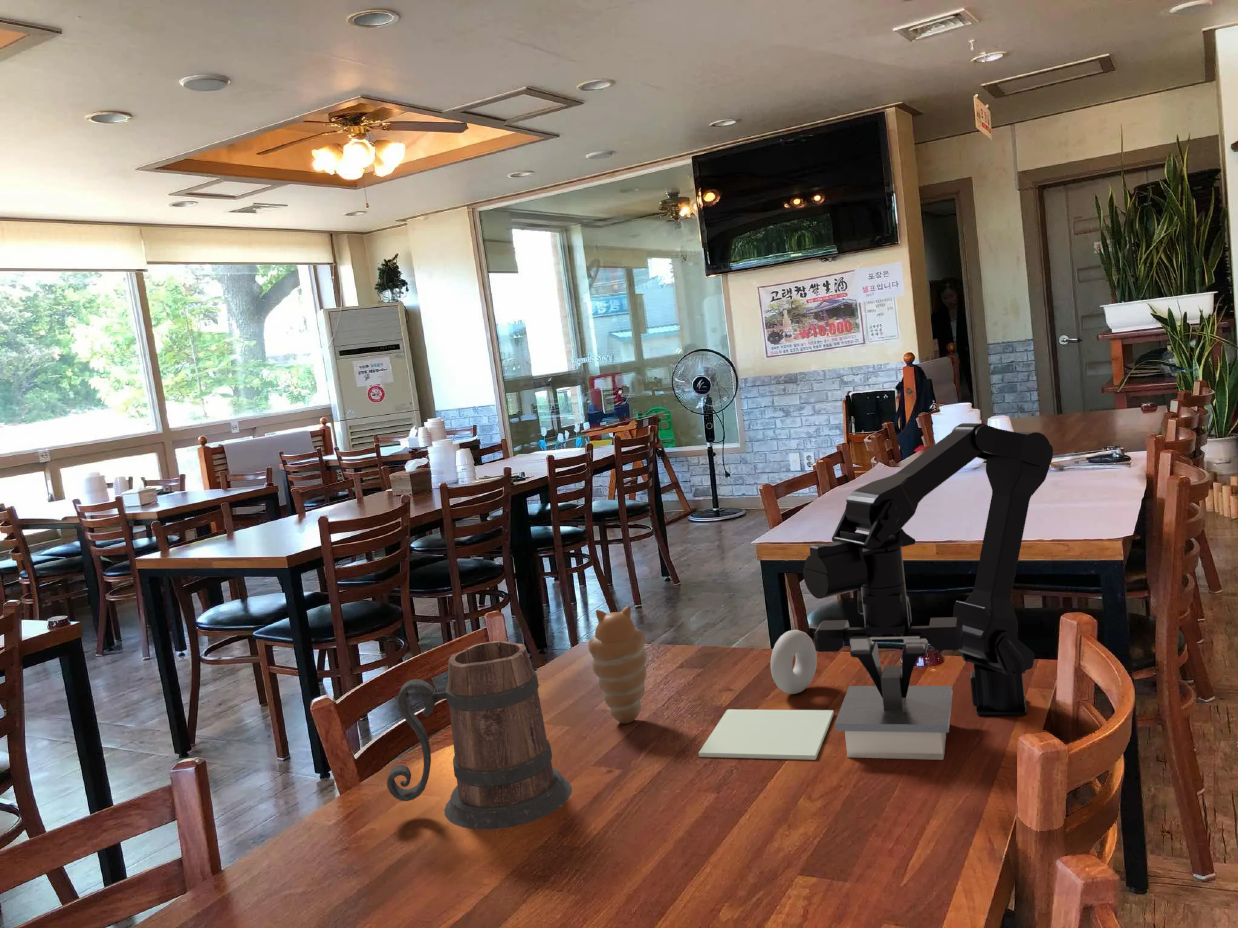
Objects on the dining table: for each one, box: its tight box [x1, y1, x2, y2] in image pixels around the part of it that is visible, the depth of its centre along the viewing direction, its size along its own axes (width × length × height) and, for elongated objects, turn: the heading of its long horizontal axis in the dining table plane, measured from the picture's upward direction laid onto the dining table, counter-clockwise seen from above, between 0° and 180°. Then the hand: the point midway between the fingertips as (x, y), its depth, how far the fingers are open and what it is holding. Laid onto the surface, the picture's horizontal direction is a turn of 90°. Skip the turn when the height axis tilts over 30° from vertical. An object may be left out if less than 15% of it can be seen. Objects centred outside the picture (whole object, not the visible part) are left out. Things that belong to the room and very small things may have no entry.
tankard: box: [386, 640, 573, 831], centre depth 129 cm, size 24×17×20 cm
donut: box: [770, 629, 818, 695], centre depth 155 cm, size 10×4×10 cm, turn 135°
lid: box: [834, 664, 954, 734], centre depth 132 cm, size 14×14×6 cm
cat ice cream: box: [587, 605, 648, 724], centre depth 151 cm, size 9×8×18 cm
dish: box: [844, 731, 947, 761], centre depth 133 cm, size 12×12×4 cm
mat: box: [698, 708, 835, 761], centre depth 140 cm, size 16×16×1 cm
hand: (894, 696), depth 132 cm, fingers closed on lid, 2 cm apart
